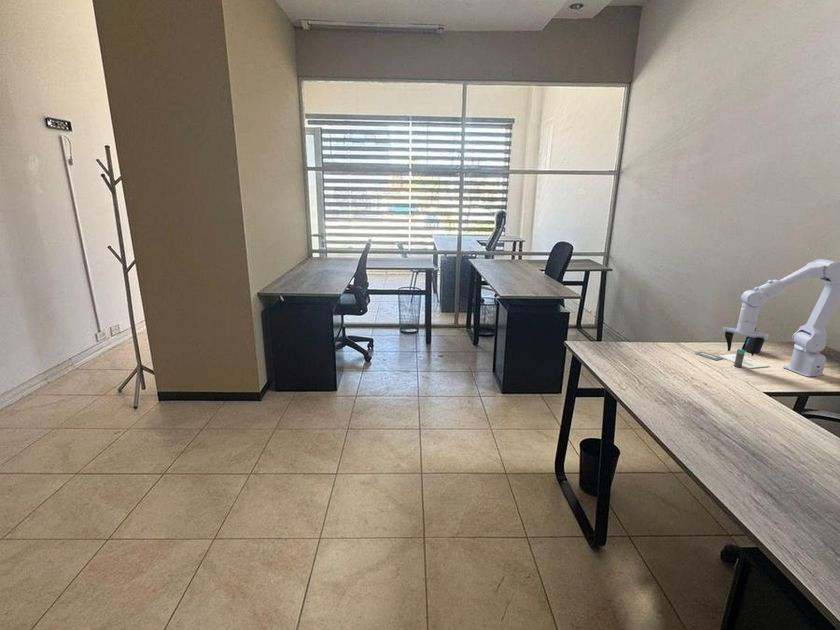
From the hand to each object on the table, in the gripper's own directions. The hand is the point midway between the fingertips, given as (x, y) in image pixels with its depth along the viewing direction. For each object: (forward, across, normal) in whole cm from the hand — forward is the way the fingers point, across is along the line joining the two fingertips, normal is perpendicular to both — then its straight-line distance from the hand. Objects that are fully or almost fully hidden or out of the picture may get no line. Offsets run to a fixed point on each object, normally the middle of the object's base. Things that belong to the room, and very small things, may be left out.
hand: (740, 352), depth 169 cm
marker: (+6, 0, 0) cm, 6 cm away
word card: (+6, +11, -5) cm, 13 cm away
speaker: (+6, -2, -26) cm, 26 cm away
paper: (+6, -1, -8) cm, 10 cm away
